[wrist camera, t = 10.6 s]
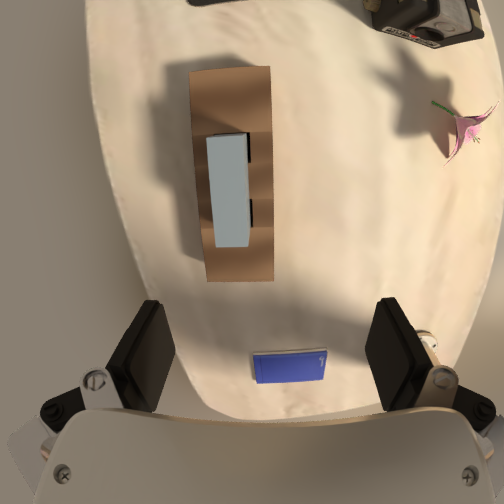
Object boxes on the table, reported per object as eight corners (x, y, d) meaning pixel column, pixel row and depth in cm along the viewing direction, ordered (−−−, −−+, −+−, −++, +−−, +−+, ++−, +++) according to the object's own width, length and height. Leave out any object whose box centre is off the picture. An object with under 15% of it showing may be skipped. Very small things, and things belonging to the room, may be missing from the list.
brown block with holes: (272, 264, 37) (273, 281, 33) (212, 265, 37) (207, 281, 33) (269, 72, 26) (270, 66, 22) (197, 77, 26) (188, 72, 23)
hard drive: (327, 352, 43) (253, 357, 44) (323, 380, 46) (256, 384, 47) (326, 345, 44) (253, 350, 45) (322, 374, 48) (257, 378, 49)
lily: (404, 159, 30) (461, 199, 24) (406, 73, 21) (480, 104, 15) (450, 138, 31) (498, 170, 25) (455, 68, 22) (513, 95, 16)
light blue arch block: (252, 214, 34) (248, 246, 26) (227, 215, 34) (215, 247, 26) (248, 131, 29) (242, 135, 21) (221, 133, 29) (206, 137, 21)
